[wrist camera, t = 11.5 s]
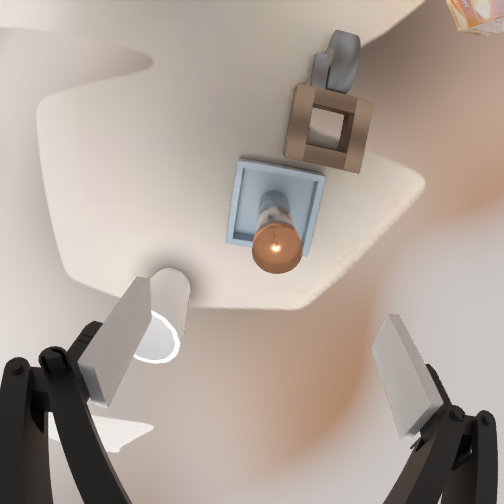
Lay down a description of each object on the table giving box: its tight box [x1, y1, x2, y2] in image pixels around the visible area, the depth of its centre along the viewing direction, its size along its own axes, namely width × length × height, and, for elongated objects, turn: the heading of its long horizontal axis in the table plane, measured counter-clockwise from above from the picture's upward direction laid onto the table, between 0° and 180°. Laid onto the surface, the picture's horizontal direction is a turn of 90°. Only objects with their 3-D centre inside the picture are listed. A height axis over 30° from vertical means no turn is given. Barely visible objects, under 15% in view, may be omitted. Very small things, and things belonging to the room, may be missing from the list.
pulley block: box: [283, 30, 373, 174], centre depth 30 cm, size 17×9×8 cm, turn 171°
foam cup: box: [133, 268, 191, 364], centre depth 40 cm, size 10×9×13 cm
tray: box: [226, 158, 326, 257], centre depth 39 cm, size 11×11×3 cm
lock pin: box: [252, 191, 303, 274], centre depth 33 cm, size 4×4×15 cm
